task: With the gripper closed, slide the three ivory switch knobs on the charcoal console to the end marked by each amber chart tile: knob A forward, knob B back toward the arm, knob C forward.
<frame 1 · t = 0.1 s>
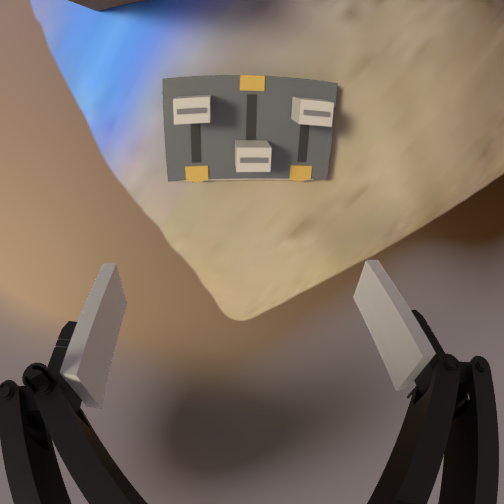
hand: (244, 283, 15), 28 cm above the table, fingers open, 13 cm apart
slider a: (193, 108, 30), point 5 cm above the table, slide at -3.0 cm
console: (249, 125, 36), on the table
slider c: (311, 111, 31), point 5 cm above the table, slide at -3.0 cm
slider b: (252, 155, 34), point 5 cm above the table, slide at 3.0 cm
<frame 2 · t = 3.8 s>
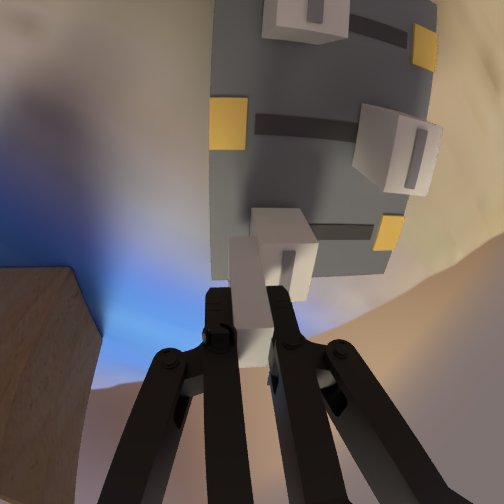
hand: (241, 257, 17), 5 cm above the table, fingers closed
slider a: (279, 254, 17), point 5 cm above the table, slide at -3.0 cm, touching gripper
console: (320, 124, 17), on the table
wooden block: (50, 303, 24), on the table
slider c: (303, 0, 9), point 5 cm above the table, slide at -3.0 cm
slider b: (396, 147, 14), point 5 cm above the table, slide at 3.0 cm
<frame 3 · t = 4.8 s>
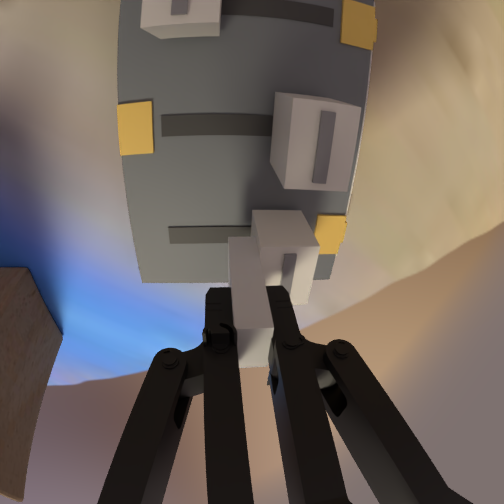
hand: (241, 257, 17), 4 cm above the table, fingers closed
slider a: (280, 257, 17), point 5 cm above the table, slide at 2.2 cm, touching gripper
console: (241, 119, 16), on the table
wooden block: (15, 301, 23), on the table
slider b: (310, 137, 13), point 5 cm above the table, slide at 3.0 cm
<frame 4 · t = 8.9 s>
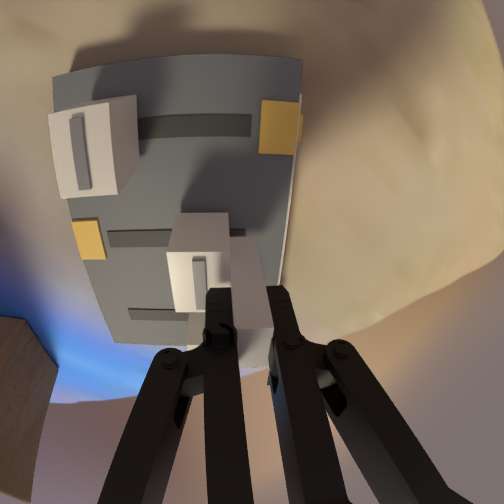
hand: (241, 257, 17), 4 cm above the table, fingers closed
slider a: (211, 340, 20), point 5 cm above the table, slide at 2.2 cm
console: (177, 222, 20), on the table
wooden block: (17, 340, 26), on the table
slider c: (97, 142, 12), point 5 cm above the table, slide at -3.0 cm
slider b: (201, 262, 16), point 5 cm above the table, slide at 1.9 cm, touching gripper
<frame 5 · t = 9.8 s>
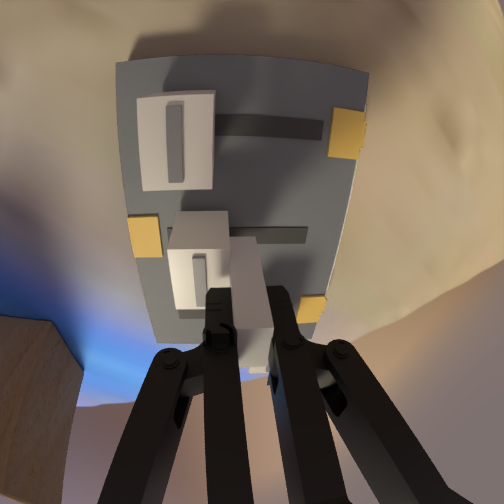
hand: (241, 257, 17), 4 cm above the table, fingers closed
slider a: (268, 336, 21), point 5 cm above the table, slide at 2.2 cm
console: (236, 220, 20), on the table
wooden block: (39, 343, 27), on the table
slider c: (180, 134, 12), point 5 cm above the table, slide at -3.0 cm
slider b: (201, 259, 16), point 5 cm above the table, slide at -2.2 cm, touching gripper
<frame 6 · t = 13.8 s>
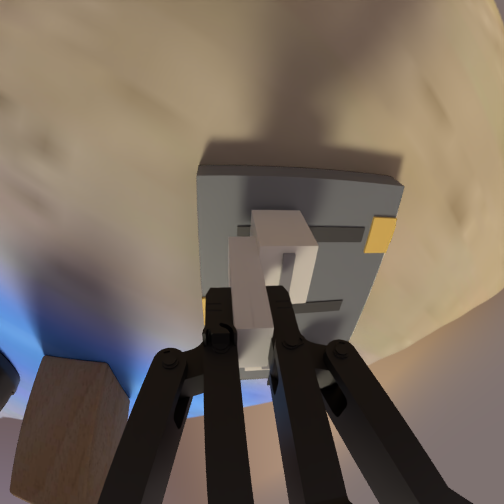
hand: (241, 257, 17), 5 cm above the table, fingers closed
console: (285, 291, 25), on the table
wooden block: (87, 377, 31), on the table
slider c: (278, 256, 17), point 5 cm above the table, slide at -2.2 cm, touching gripper
slider b: (263, 334, 21), point 5 cm above the table, slide at -2.5 cm
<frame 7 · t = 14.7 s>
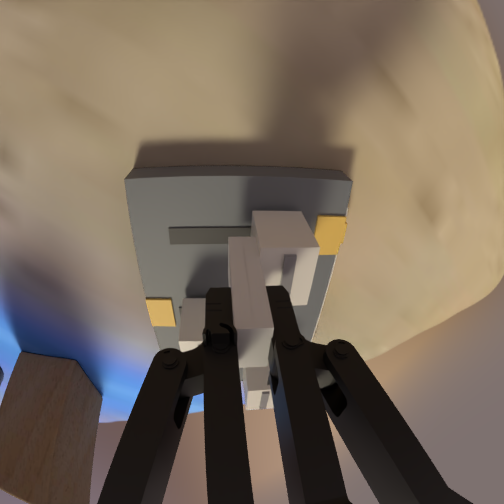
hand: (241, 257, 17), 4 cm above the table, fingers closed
slider a: (261, 382, 25), point 5 cm above the table, slide at 2.2 cm
console: (235, 294, 24), on the table
wooden block: (62, 374, 31), on the table
slider c: (279, 258, 17), point 5 cm above the table, slide at 2.2 cm, touching gripper
slider b: (204, 337, 20), point 5 cm above the table, slide at -2.5 cm
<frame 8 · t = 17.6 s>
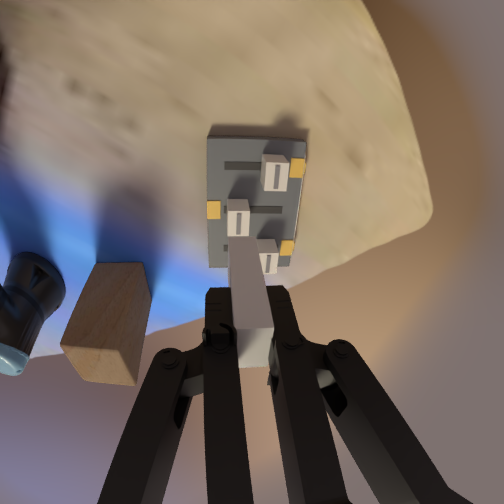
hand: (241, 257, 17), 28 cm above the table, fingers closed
slider a: (266, 256, 46), point 5 cm above the table, slide at 2.2 cm
console: (251, 204, 46), on the table
wooden block: (124, 281, 53), on the table
slider c: (274, 172, 39), point 5 cm above the table, slide at 2.2 cm
slider b: (237, 217, 42), point 5 cm above the table, slide at -2.5 cm
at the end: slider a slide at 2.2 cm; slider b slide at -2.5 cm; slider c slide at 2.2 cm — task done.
